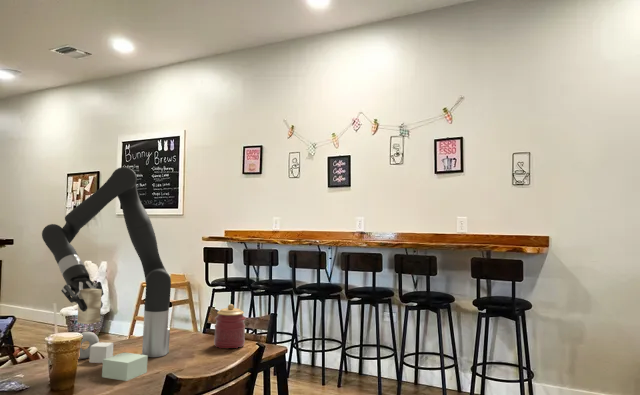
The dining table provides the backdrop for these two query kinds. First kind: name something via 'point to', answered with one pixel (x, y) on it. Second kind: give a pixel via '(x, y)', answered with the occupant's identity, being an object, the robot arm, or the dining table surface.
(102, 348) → the white cube
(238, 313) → the canister
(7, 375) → the dining table surface
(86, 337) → the donut
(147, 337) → the robot arm
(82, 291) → the birch block
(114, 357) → the sage box
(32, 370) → the dining table surface
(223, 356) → the dining table surface
